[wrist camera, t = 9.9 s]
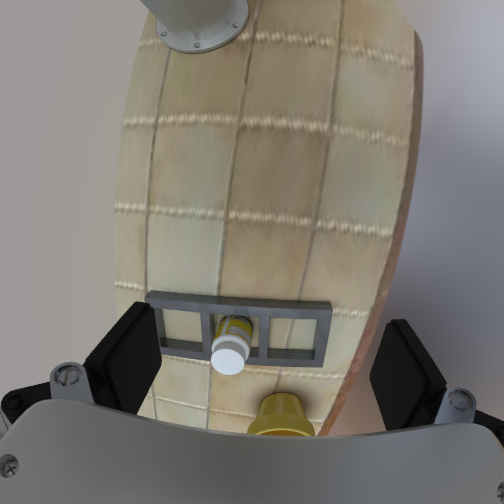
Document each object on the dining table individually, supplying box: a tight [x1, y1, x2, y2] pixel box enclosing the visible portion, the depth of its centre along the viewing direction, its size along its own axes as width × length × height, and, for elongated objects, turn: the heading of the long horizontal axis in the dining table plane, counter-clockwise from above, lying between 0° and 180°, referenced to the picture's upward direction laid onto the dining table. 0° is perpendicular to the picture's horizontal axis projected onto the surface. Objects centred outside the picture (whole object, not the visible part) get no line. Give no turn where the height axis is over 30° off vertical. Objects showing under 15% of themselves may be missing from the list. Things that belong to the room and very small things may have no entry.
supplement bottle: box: [211, 315, 253, 375], centre depth 35 cm, size 5×5×8 cm
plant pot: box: [247, 393, 315, 436], centre depth 38 cm, size 10×10×10 cm
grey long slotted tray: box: [144, 291, 333, 367], centre depth 38 cm, size 9×25×2 cm, turn 89°
